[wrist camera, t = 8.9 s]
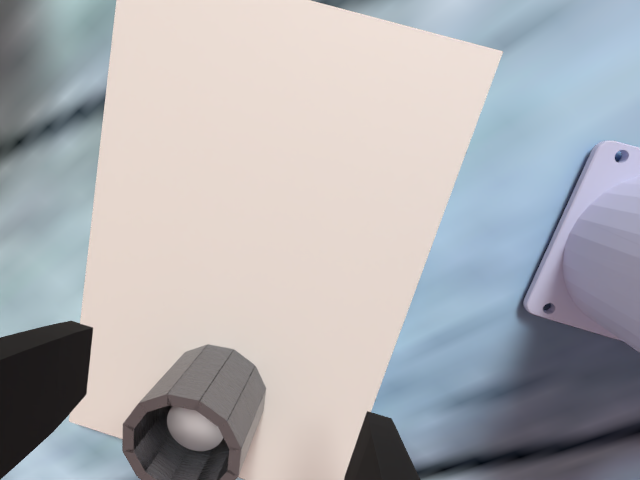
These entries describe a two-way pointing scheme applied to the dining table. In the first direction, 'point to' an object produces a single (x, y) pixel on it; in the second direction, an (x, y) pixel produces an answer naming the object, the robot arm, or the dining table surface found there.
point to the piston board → (269, 210)
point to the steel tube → (210, 401)
